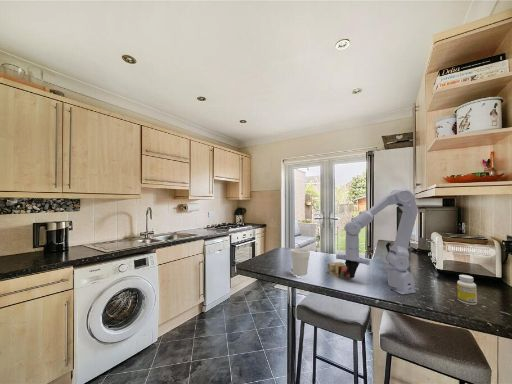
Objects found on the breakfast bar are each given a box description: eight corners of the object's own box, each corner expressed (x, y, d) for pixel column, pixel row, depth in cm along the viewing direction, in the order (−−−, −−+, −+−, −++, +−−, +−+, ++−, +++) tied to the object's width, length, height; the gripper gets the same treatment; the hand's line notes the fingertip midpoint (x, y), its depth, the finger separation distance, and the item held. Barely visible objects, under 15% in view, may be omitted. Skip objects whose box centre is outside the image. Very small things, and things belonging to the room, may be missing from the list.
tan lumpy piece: (346, 275, 108) (346, 265, 108) (338, 276, 107) (338, 266, 107) (342, 273, 111) (342, 263, 111) (334, 274, 110) (334, 264, 110)
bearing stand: (356, 281, 105) (356, 267, 106) (339, 283, 102) (339, 269, 103) (341, 273, 116) (341, 261, 116) (325, 275, 113) (325, 263, 113)
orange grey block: (351, 276, 104) (351, 268, 104) (346, 276, 103) (346, 269, 103) (337, 269, 114) (337, 262, 114) (332, 269, 113) (332, 262, 113)
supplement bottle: (460, 297, 88) (460, 273, 89) (479, 303, 84) (478, 277, 84) (454, 300, 86) (454, 275, 86) (473, 306, 81) (472, 279, 81)
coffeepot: (420, 278, 111) (419, 242, 111) (406, 279, 108) (405, 243, 108) (392, 268, 125) (392, 237, 126) (380, 270, 122) (379, 237, 123)
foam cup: (303, 272, 117) (303, 247, 118) (313, 278, 109) (313, 251, 109) (287, 274, 114) (287, 249, 115) (296, 280, 106) (296, 253, 106)
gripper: (371, 248, 100) (371, 279, 99) (340, 244, 110) (340, 271, 109) (366, 251, 94) (366, 283, 94) (334, 246, 104) (334, 275, 104)
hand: (352, 277), depth 101 cm, fingers closed
